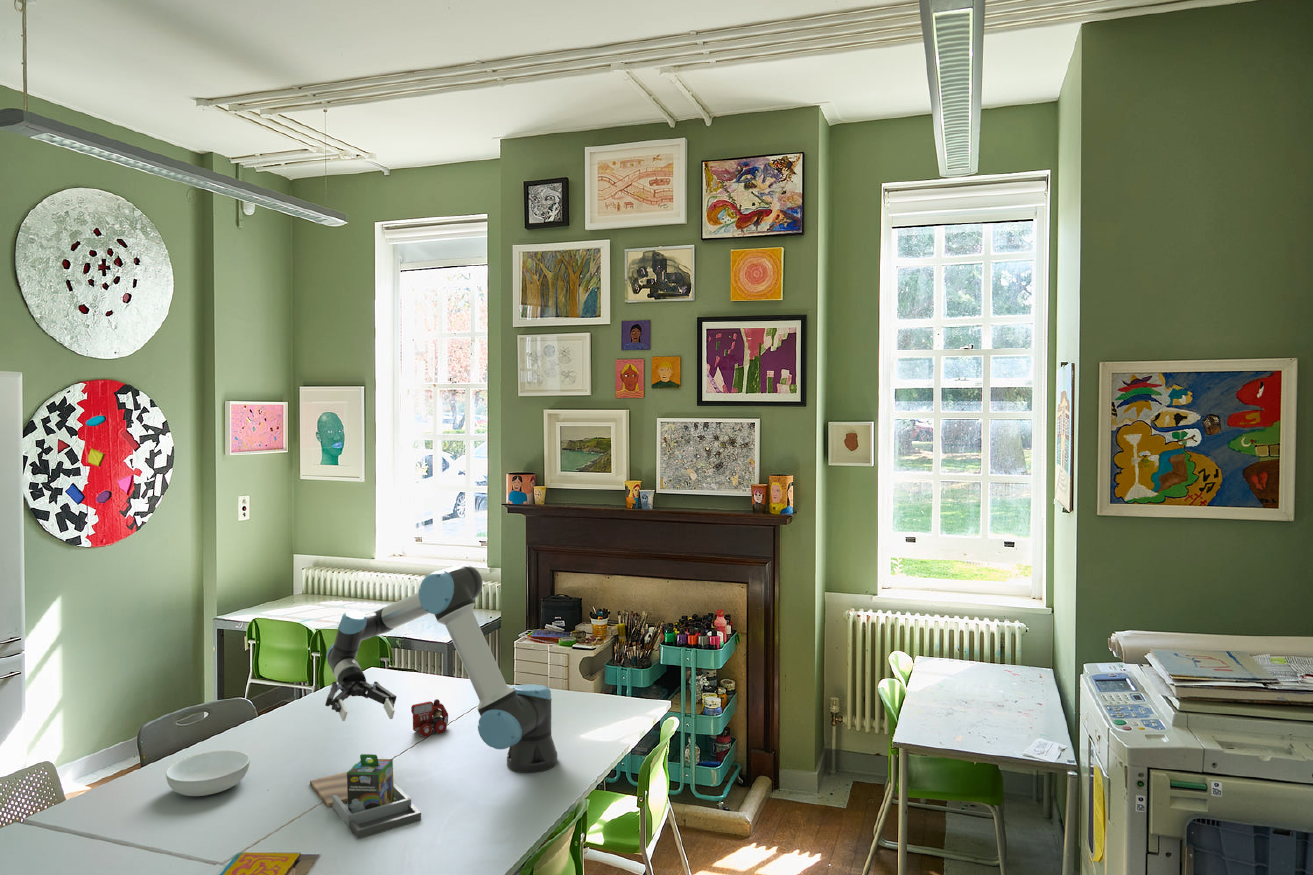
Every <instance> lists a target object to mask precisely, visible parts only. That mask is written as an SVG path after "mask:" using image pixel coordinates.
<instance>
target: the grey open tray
mask: <svg viewBox="0 0 1313 875" xmlns="http://www.w3.org/2000/svg"><path fill="white" fill-rule="evenodd" d="M394 800H396V801H393V802H392V803H389V804H385V805H382V806H378V807H375V808H371V809H368V810H364V811H360V812H357V813H353V814H352V813H351V812H350V811H349V809H348V806H346V804H345V803H343V802H342V801H341V800H340V799H339V797H338V796H337V795H333V796H332V806H331V807H332V808H333V810H334V811H335V813H337V814H338V816H339V817H340V818H341V820H342V821H343V822H344V824H346V826H347V827H348V829H349V830H350V831H351V832H352V833H353V835H354V836H355V838H357V839H359V840H360V839H363V838H367V837H370V836H373V835H376V834H379V833H383V832H386V831H390V830H393V829H397V828H400V827H402V826H407V825H409V824H413V823H417V822H419V821H422V812H421V811H420V810H419V809H418V807H416V806H415V805H414V804H413V803H412V798H411V797H410V796H409V795H408V794H407V793H405V792H404V791H403V789H402V788H400V787H399V785H397V784H396V783H395V782H394Z"/></svg>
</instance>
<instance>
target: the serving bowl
mask: <svg viewBox="0 0 1313 875" xmlns="http://www.w3.org/2000/svg"><path fill="white" fill-rule="evenodd" d="M250 763H251V761H250V756H249V754H247V753H245V752H242V751H239V750H217V751H208V752H202V753H199V754H198V753H197V754H195V755H191V756H187V757H186V758H182V759H180V760H178V761H177V762H174V763H172V764H171V765H170V766H169V767H168V768H167V769H166V770H165V771H166V772H165V778H166V781H167V784H168V786H169V787H170V789H171V790H172V791H174V792H175V793H177V794H180V795H182V796H187V797H201V796H209V795H214V794H217V793H221V792H224V791H226V790H228V789H231V788H232V787H234V786H235V785H237V784H238V783H239V782H241V780H243V779H244V778H245V777H246V774H248V773H247V772H248V770H249V767H250Z"/></svg>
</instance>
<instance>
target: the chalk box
mask: <svg viewBox="0 0 1313 875" xmlns="http://www.w3.org/2000/svg"><path fill="white" fill-rule="evenodd" d="M359 759H360V761H358V762H357V763H355V764H354V765H352V768H351V769H349V770H348V771H346V772H347V797H348V802H347V808H348V809H349V811H350V812H351V813H352V814H353V813H357V812H360V811H364V810H368V809H371V808H375V807H378V806H382V805H385V804H389V803H393V802H395V798H394V783H395V782H394V760H393V758H378V755H377V754H373V753H372V754H369V753H368V754H364V753H361V754H360V755H359Z"/></svg>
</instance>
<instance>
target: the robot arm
mask: <svg viewBox="0 0 1313 875" xmlns="http://www.w3.org/2000/svg"><path fill="white" fill-rule="evenodd" d="M482 590H483V578H482V575H481V573H480V572H479V571H478V570H477V569H476V568H475V567H473V566H472V565H467V564H460V565H456V566H451V567H448V568H445V569H444V568H443V569H439V570H436V571H433V572H432V573H429V574H427V575H426V576H425V577H424V578H423V579H422V581H421V582H420V586H419V588H418V592H415V593H414V594H411V595H408V596H407V597H404V598H403V599H402V598H401V599H400V600H398V601H396V602H394V603H392V604H389V605H387V606H384V607H382V608H380V609H378V610H376V611H372V612H370V613H367V614H365V613H363V612H361V611H358V610H353V611H352V610H349V611H345V613H342V616H341V619H340V622H339V624H338V628H337V631H336V632H337V633H336V635H335V639H334V643H333V644H332V645H331V646H329V648H328V649H327V652H326V660H327V664H328V665H329V667H330V669H331V672H332V673H333V675H334V678H335V680H336V681H332V683H331V687H330V690H329V691H330V692H329V693H328V695H327V697H326V702H325V706H326V707H330V706H331V710H333V711H335V712H336V713H338V714H339V716H340V719H341V722H345V721H346V719H347V715H348V710H347V708H346V706H345V703H344V702H343V701H345V700H346V699H348V698H349V697H363V698H365V699H371V700H373V701H375V702H377V703H379V704H382V705H383V708H384V711H385V712H386V714H387V717H388V718H389V720H393V718H394V715H395V712H396V711H395V708H394V707H395V704H396V700H397V695H395V694H394V693H393V692H391V691H390V690H388V689H386V688H385V687H383V686H382V685H381V684H380V683H379V682H378V681H374V682H373V683H372V684H370V683H369V682H368V681H367V679H366V676H365V673H364V671H363V670H362V667H361V666H360V664H359V662H358V659H357V656H358V652H359V648H360V646H361V642H362V641H364V640H368V639H370V638H373V637H376V636H379V635H382V634H387V633H389V632H391V631H392V630H394V629H396V628H398V627H400V626H402V625H405V624H407V623H410V622H413V621H414V620H416V619H419V618H422V617H424V616H426V615H429V614H431V615H434V617H435V619H436V621H437V623H439V624H442V625H444V626H445V628H446V630H447V632H448V634H449V637H450V639H451V641H452V644H453V645H454V648H455V650H456V652H457V654H458V656H459V659H460V661H461V663H462V665H463V667H464V669H465V671H466V672H465V673H467V676H468V679H469V681H470V682H471V684H472V687H473V689H474V692H475V693H476V696H477V698H478V700H479V703H478V706H477V712H478V714H479V716H480V717H479V720H478V725H477V730H478V734H479V737H480V739H481V740H482V741H483V743H485V744H486V745H487V746H488V747H489V748H493V749H496V750H505V749H508V748H509V749H508V752H507V755H506V767H507V768H509V770H512V771H515V772H519V773H536V772H537V773H538V772H543V771H547V770H549V769H551V768H553V767H555V766H556V765H557V764H558V752H557V749H556V746H555V742H554V740H553V736H552V699H553V698H552V691H551V689H550V688H549V687H547V686H546V685H543V684H542V685H541V684H532V683H531V684H527V683H526V684H519V685H515V686H513V687H509V686H508V685H507V683H506V681H505V678H504V676H503V674H502V672H501V670H500V667H499V665H498V663H497V661H496V659H495V657H494V655H493V652H492V650H491V648H490V646H489V644H488V642H487V640H486V637H485V635H484V633H483V631H482V629H481V626H480V625H479V623H478V621H477V617H476V615H475V613H474V608H475V605H476V603H475V601H474V600H476V599H477V598H478V597H479V595H480V594H481V592H482ZM339 690H340V691H341V692H339V693H338V695H336V693H337V692H338V691H339ZM335 695H336V696H335Z"/></svg>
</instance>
